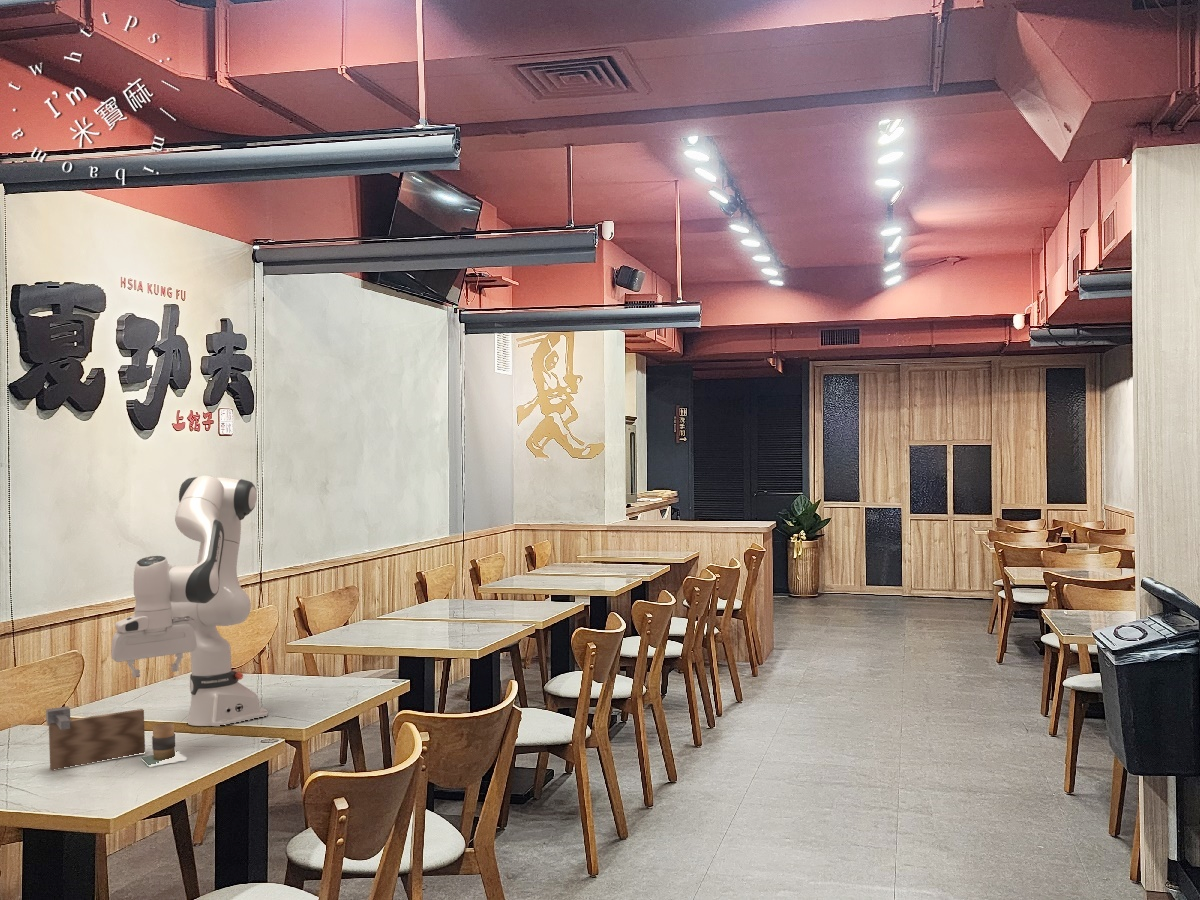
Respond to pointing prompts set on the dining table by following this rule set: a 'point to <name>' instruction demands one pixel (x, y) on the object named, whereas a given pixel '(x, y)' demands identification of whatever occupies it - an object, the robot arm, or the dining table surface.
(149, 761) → the mat
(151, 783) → the dining table surface
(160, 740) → the spool
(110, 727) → the board
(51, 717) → the clamp bar
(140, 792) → the dining table surface
